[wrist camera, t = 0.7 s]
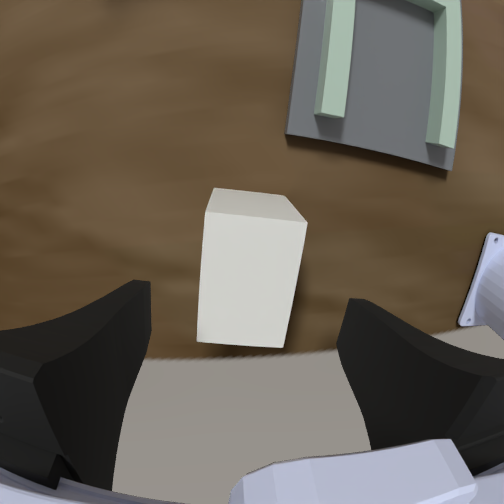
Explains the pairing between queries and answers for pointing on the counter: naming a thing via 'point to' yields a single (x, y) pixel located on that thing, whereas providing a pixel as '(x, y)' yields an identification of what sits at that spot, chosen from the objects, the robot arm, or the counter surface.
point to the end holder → (380, 76)
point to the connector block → (248, 268)
